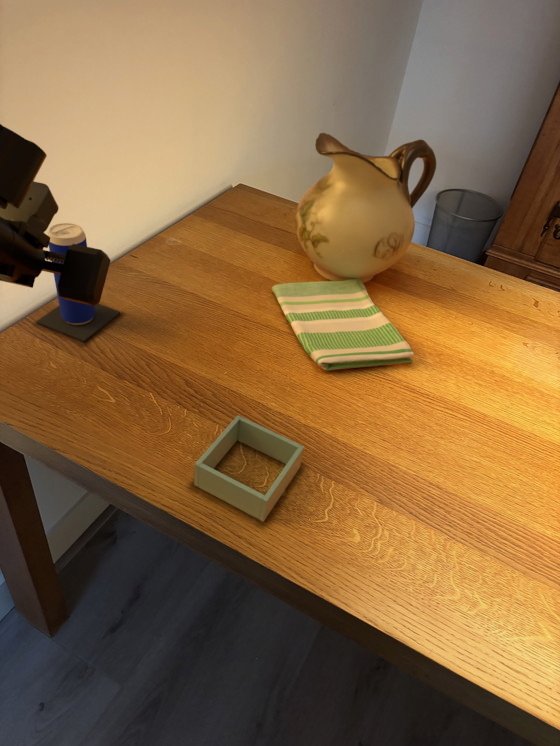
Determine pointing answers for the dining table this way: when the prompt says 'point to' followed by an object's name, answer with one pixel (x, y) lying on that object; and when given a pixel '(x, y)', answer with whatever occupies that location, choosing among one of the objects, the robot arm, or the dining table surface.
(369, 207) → the pitcher
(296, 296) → the dish towel
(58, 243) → the beverage can
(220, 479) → the tray
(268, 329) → the dining table surface
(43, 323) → the mat
